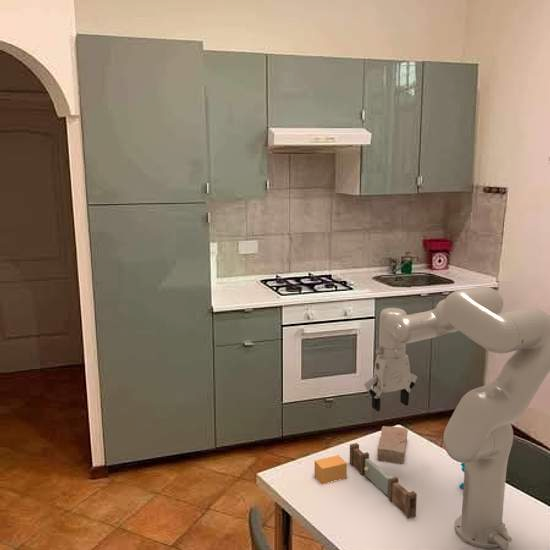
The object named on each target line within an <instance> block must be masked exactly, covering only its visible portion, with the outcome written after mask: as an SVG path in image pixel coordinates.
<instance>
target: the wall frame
mask: <svg viewBox="0 0 550 550" xmlns="http://www.w3.org/2000/svg"><path fill="white" fill-rule="evenodd" d="M368 458H369V459H370V453H368V452H367V451H366V452H363V451H362V450H361V449H360V445H359V443H358V442H355V443H354V442H353V443H351V444H349V465H350V466H351V467H354V468H355V469H356V470H357V471H358V472H359V473H360V475H361V476H365V470H364V468H365V459H368ZM417 496H418V494H417V493H416V492H415V491H413V490H412V491H408V490H407V489H406V488H405V487H404V486H403V485H401V484H400V483H399V477H397V476H393V477H391V478H390V479H389V496H388V501H389V502H390V503H392V504H394V506H396V507H397V508H398V509H399V510H400V511H401V512H402V513H403V514H404V516H405V517H406V518H407V519H411V518H415V517H416V516H417Z"/></svg>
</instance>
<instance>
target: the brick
mask: <svg viewBox="0 0 550 550" xmlns="http://www.w3.org/2000/svg"><path fill="white" fill-rule="evenodd" d="M380 432H381V434H380V438H379V440H378V445H377V460H379V461H378V462H382V461H383V463H391V464H398V465H403V464H404V463H405V462H404V461H405V453H406V446H407V439H408V428H405V427H403V426H402V427H401V426H385V425H383V426H382V427H381V431H380ZM384 461H385V462H384Z"/></svg>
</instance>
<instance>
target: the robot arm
mask: <svg viewBox="0 0 550 550" xmlns="http://www.w3.org/2000/svg"><path fill="white" fill-rule="evenodd" d="M503 308H504V300H503V297H502V295H501V294H500V292H498V291H497V290H496V289H495V288H492V287H490V286H476V287H471V288H463V289H459V290H454V291H453V292H451V293H450V294H448V295H447V296H446V298H444V299H441V300H440V301H439V302H438V303H437V304H436V306H435V308H433V309H430V310H427V311H423V312H417V313H416V312H415V313H412V314H407V312H406V310H404V309H403V308H398V307H387V308H383V309H382V310H381V311H380V314H379V336H378V337H379V338H378V339H379V341H378V348H377V349H375V354H376V355H377V356H376V359H375V362H374V369H373V376H372V378H370V379H368V380H367V381H366V382H364V387H365V390H366V392H367V393H368V394H369V395H370V396H371V407H372V409H373V410H375V411H376V412H380V411H381V399H380V396H381V395H382V393H384V394H385V393H392V392H397V391H400V397H399V401H400V403H401V404H403V405H404V406H406V407H407V406H409V401H410V393H411V392H412V389H413V388H414V387H415V383H416V381H417V379H418V376H417V375H415V374H413V373H411V368H410V367H411V366H410V360H409V356H408V354H406V349H407V348H406V347H407V344H411V343H415V342H420V341H423V340H430V339H433V338H437V337H440V336H443V335H447V334H450V333H456V332H460V333H461V334H463V335H465V336H466V337H467V338H468V339H470V340H471V341H473V342H474V343H475V344H477V345H479V346H481V347H482V348H483V349H485V350H486V351H489V352H492V353H494V354H500V355H501V354H508V353H511V352H514V353H513V354H512V355H511V356H510V357H509V358H508V359H507V361H506V362H505V364H503V367H502V369H501V371H500V373H499V374H498V375H497V377H496V378H495V379H494V381H492V382H490V383H488V384H485V385H482V386H479V387H476V388H474V389H473V388H472V389H470V390H469V391H468V392H466V393H465V394H464V395H463V396H462V397H461V398H460V400H459V402H458V404H457V405H456V408H455V410H454V411H453V413H452V415H451V417H450V419H449V421H447V424H446V426H445V429H444V432H443V439H442V440H443V446H444V450H445V452H446V454H447V455H448V456H449V457H450V459H452V460H453V461H456V462H458V463H460V464H462V463H465V471H464V472H463V473H464V474H463V483H464V487H463V488H462V489H463V490H462V491H463V492H462V506H461V507H462V508H461V515H459V516H458V517H456V519H455V521H454V531H455V533H456V534H457V536H458V538H459V537H460V539H462V540H463V541H464V542H466V543H468V544H470V545H472V546H475V547H479V548H484V549H494V548H499V547H500V548H501V549H503V550H506V549H507V548H508V547H509V543H511V542H512V541H513V537H512V536H510V535H509V533H508V530H507V527H506V524H505V523H504V522H503V516H504V503H505V489H506V481H507V480H506V479H507V477H506V476H507V468H508V462H509V457H510V453H511V450H512V446H513V442H514V429H513V427H512V423H514V422H516V421H518V420H519V419H520V418H522V416H523V415H524V414H525V413H526V410H527V409H528V407H529V406H530V404H531V403H532V400H533V399H534V398H535V396H536V394H537V392H538V391H539V389H540V387H541V385H542V384H543V382H544V381H545V379H546V378H547V376H548V374H549V373H550V314H549V313H547V312H546V311H544V310H542V309H539V308H534V307H533V308H531V307H530V308H529V307H527V308H520V309H516V310H510V311H505V312H502V311H503ZM372 387H373V388H372Z"/></svg>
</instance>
